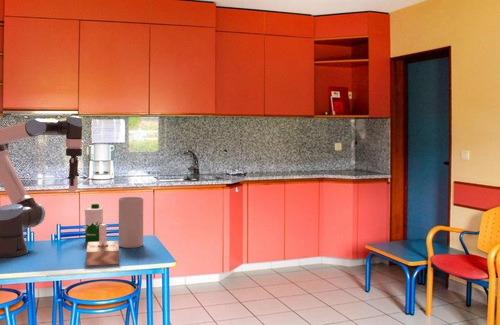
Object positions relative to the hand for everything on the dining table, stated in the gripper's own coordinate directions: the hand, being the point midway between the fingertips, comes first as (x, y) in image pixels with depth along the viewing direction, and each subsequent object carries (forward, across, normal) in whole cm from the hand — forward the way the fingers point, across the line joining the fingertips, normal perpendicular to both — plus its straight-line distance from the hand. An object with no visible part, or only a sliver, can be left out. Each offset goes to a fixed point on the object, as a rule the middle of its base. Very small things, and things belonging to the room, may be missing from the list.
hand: (73, 190), depth 248 cm
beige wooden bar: (+30, -19, -15) cm, 38 cm away
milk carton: (+30, +23, -9) cm, 39 cm away
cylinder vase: (+30, +7, -29) cm, 42 cm away
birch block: (+30, -19, -15) cm, 38 cm away
